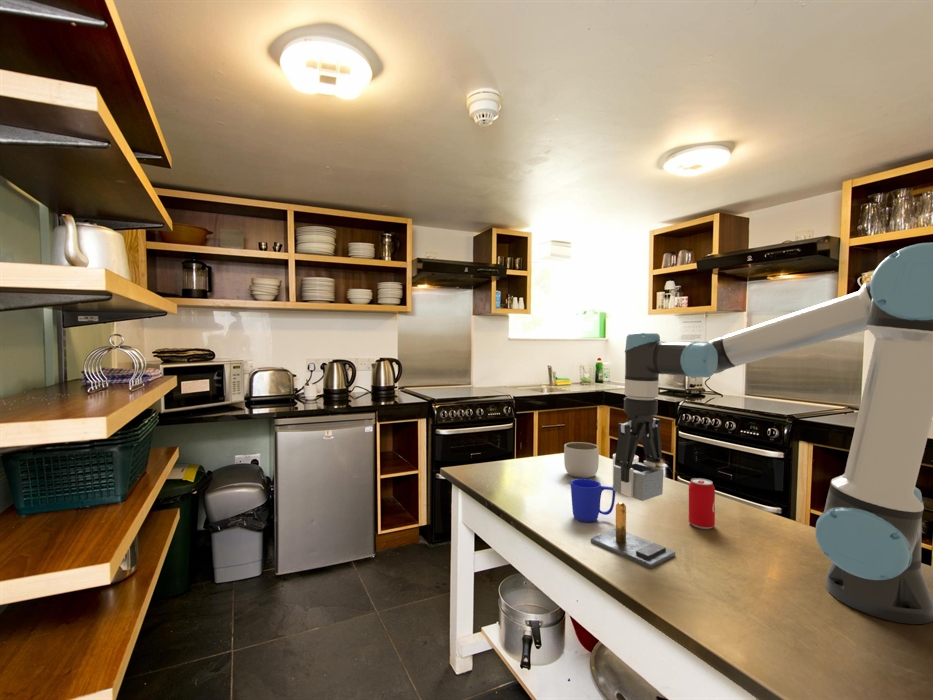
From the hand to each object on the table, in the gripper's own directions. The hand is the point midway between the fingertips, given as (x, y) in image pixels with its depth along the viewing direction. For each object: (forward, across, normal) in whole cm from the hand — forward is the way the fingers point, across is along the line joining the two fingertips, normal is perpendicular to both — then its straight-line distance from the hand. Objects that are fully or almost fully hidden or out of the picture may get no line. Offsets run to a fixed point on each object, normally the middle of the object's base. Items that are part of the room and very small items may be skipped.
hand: (638, 491), depth 107 cm
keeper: (+13, +2, 0) cm, 14 cm away
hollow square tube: (0, 0, 0) cm, 0 cm away
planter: (+15, -34, -46) cm, 59 cm away
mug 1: (+14, -4, -17) cm, 22 cm away
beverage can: (+13, -25, +3) cm, 28 cm away
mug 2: (+14, -36, -27) cm, 48 cm away
